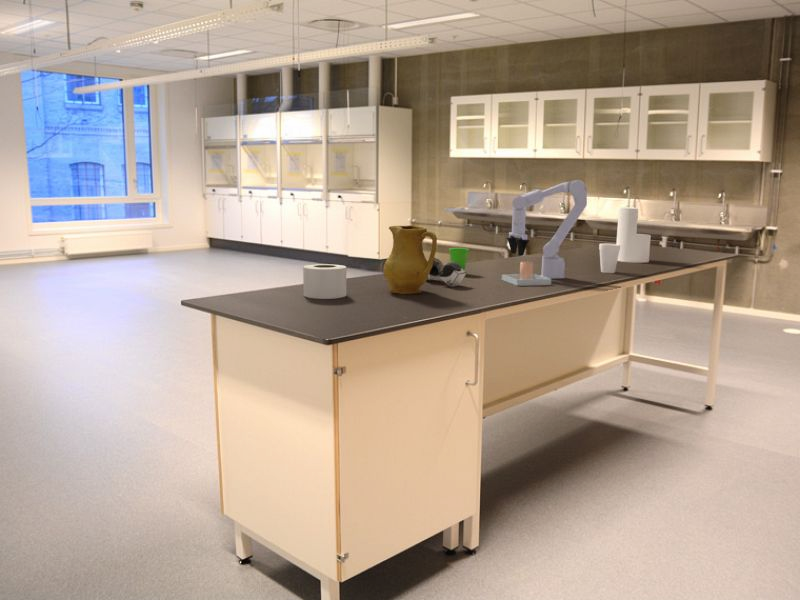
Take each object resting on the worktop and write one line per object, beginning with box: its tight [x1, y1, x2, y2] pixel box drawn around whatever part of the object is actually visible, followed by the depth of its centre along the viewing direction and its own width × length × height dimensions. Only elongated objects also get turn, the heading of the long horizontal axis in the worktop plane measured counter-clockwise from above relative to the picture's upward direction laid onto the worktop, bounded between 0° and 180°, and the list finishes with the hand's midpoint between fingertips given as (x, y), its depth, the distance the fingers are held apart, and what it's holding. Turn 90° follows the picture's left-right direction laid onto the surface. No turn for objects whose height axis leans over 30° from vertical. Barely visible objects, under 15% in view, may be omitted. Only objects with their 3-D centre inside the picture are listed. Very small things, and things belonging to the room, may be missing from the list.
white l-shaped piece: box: [615, 206, 652, 264], centre depth 391 cm, size 17×17×28 cm
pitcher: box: [383, 224, 438, 295], centre depth 275 cm, size 17×19×25 cm
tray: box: [501, 273, 552, 287], centre depth 307 cm, size 15×15×2 cm
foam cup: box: [598, 242, 620, 274], centre depth 344 cm, size 10×9×13 cm
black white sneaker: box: [426, 257, 467, 288], centre depth 299 cm, size 25×10×10 cm, turn 33°
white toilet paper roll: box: [302, 263, 347, 300], centre depth 265 cm, size 16×15×11 cm
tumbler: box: [519, 261, 534, 280], centre depth 306 cm, size 5×5×8 cm
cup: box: [448, 247, 470, 271], centre depth 329 cm, size 9×9×11 cm
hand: (517, 254), depth 325 cm, fingers open, 7 cm apart
